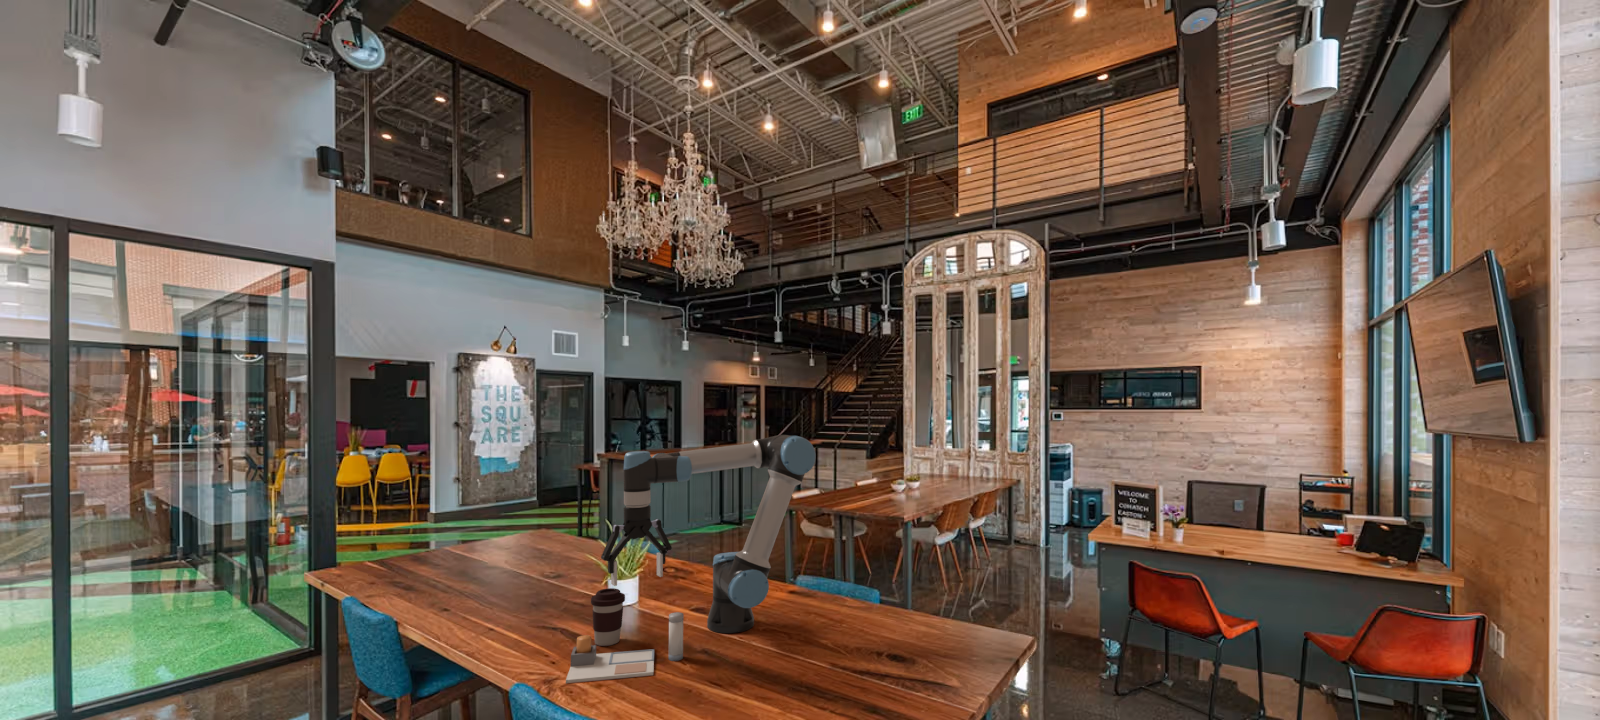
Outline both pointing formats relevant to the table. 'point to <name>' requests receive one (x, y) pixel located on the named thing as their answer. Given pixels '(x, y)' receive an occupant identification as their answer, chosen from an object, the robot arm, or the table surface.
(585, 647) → the button
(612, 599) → the coffee cup
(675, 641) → the cylinder
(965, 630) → the table surface
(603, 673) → the sheet board
